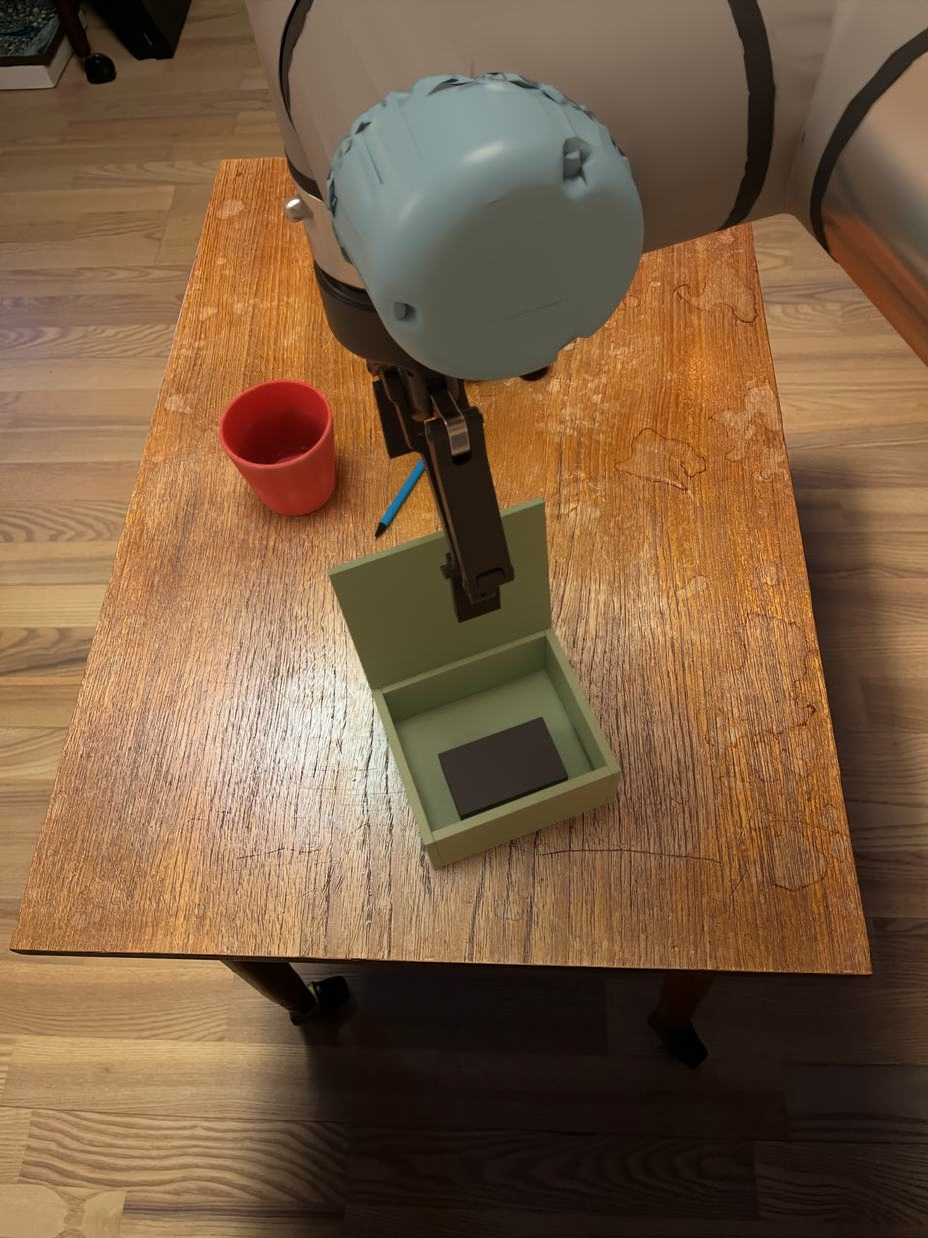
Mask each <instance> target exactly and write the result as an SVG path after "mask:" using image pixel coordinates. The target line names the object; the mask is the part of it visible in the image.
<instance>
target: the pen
mask: <svg viewBox="0 0 928 1238" xmlns="http://www.w3.org/2000/svg"><path fill="white" fill-rule="evenodd" d="M424 471H425V468H424V465H423V462H422V458H421V457H420V459H419V460H418V462H417V463H416V465H415V467H414V468H413V470H412V471H411V473H410V474H409V476H408V477H407V479H406V480H405V482H404V483H403V485H402V487H401V488H400V490H399V491H398V493H397V494H396V496H395V497H394V498H393V501H392V502H391V504H390V505H389V507H388V509H386V511H385V513H384V514H383V516H382V517H381V519H380V520H379V522H378V526H377V527H376V531H375V533H374V536H373V539H374V540H376V539H377V538H378V537H379V536H380V535H381V534H382V533H383V532H384V531H386V530H387V528H388V527H389V525H390V524H391V522H392V520H393V519H394V518H395V516H396V514H397V513H398V511H399V510H400V508H401V507H402V505H403V503H404V502H405V500H406V499H407V497H408V496H409V494H410V492H412V490H413V488H414V487H415V485H416V483H417V481H418V480H419V478H420V477H421V475H422V474H423V472H424Z"/></svg>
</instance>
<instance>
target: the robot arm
mask: <svg viewBox="0 0 928 1238" xmlns="http://www.w3.org/2000/svg"><path fill="white" fill-rule="evenodd" d="M244 3H245V6H246V10H247V14H248V18H249V22H250V25H251V29H252V33H253V37H254V40H255V45H256V48H257V53H258V56H259V60H260V64H261V67H262V71H263V74H264V78H265V81H266V85H267V88H268V92H269V95H270V100H271V103H272V106H273V109H274V114H275V117H276V121H277V124H278V128H279V131H280V135H281V139H282V142H283V148H284V154H285V159H286V162H287V167H288V170H289V174H290V175H291V180H292V184H293V186H294V188H295V190H296V192H297V193H295V194H292V195H289V196H287V197H284V199H283V201H282V204H281V205H282V209H283V212H284V216H285V219H287V221H289V222H291V223H299V222H302V224H303V228H304V232H305V235H306V240H307V243H308V247H309V250H310V252H311V253H310V254H311V256H312V258H313V271H314V275H315V279H316V283H317V288H318V292H319V295H320V298H321V303H322V307H323V311H324V314H325V318H326V322H327V325H328V328H329V329H330V331H331V334H332V335H333V337H334V338H335V339H336V340H337V343H339V344H340V345H341V346H342V347H344V348H345V349H346V350H348V351H349V352H350V353H351V354H353V355H354V356H357V357H358V358H361V359H363V360H365V362H366V363H365V367H366V370H367V373H369V374H370V375H371V377H372V378H374V377H377V379H378V380H374V381H372V382H371V386H372V390H373V395H374V398H375V402H376V403H375V404H376V408H377V413H378V417H379V421H380V426H381V430H382V435H383V440H384V445H385V448H386V449H385V450H386V453H387V455H388V458H389V459H390V460H393V459H396V458H399V457H402V456H404V455H405V456H406V455H408V454H411V453H414V452H415V453H417V454H420V459H421V458H422V462H423V465H424V468H425V469H424V471H425V475H426V478H427V481H428V484H429V488H430V491H431V494H432V498H433V501H434V504H435V508H436V511H437V514H438V517H439V521H440V525H441V528H442V530H443V531H444V534H445V538H446V541H447V544H448V548H449V551H450V552H449V553H446V554H445V555H446V561H447V564H446V565H443V566H440V569H441V572H442V575H443V577H444V579H445V580H447V579H449V580H450V586H451V593H452V599H453V606H454V612H455V615H456V618H457V620H458V622H459V623H461V622H464V621H467V620H470V619H473V618H476V617H478V616H481V615H484V614H487V613H490V612H493V611H495V610H498V609H501V601H500V585H503V584H506V583H509V582H511V581H514V578H515V577H514V573H515V572H514V568H513V566H512V564H511V560H510V556H509V551H508V547H507V542H506V538H505V533H504V529H503V524H502V520H501V515H500V511H501V510H500V507H499V503H498V498H497V494H496V488H495V485H494V479H493V476H492V472H491V466H490V462H489V458H488V453H487V444H486V443H487V442H486V435H485V428H484V427H485V426H484V423H485V418H484V414H483V413H482V412H480V408H479V407H478V406H477V405H474V406H471V405H470V402H469V398H468V395H467V391H466V388H465V387H466V386H465V383H466V380H468V381H490V382H491V381H500V380H501V381H502V380H506V379H508V380H509V379H512V378H516V377H517V378H518V377H520V376H521V375H524V374H528V373H531V372H534V371H536V370H539V369H541V368H544V367H546V366H549V367H550V366H551V365H552V364H553V363H556V362H557V360H558V358H559V357H558V356H559V353H560V352H561V351H562V350H563V349H565V348H566V347H567V346H568V345H570V344H572V342H574V341H576V340H577V339H589V338H592V336H593V335H594V334H596V333H597V332H598V331H599V330H601V328H602V327H604V325H605V324H606V323H607V322H608V321H609V320H610V319H611V317H612V316H613V315H614V314H615V312H616V310H617V309H619V307H620V305H621V303H622V302H623V300H624V298H625V297H626V295H627V294H628V292H629V291H630V289H631V286H632V284H633V282H634V279H635V276H636V274H637V271H638V269H639V266H640V263H641V258H642V255H645V254H648V253H651V252H655V251H658V250H662V249H666V248H669V247H672V246H676V245H678V244H682V243H686V242H690V241H693V240H696V239H700V238H702V237H706V236H708V235H711V234H714V233H717V232H722V231H724V230H728V229H731V228H733V227H736V226H741V225H744V224H748V223H752V222H756V221H759V220H762V219H768V218H771V217H774V216H778V215H782V214H785V215H790V216H793V217H794V218H795V219H796V220H797V221H798V222H799V223H800V224H801V225H802V226H803V228H804V229H805V230H806V231H807V233H809V234H810V235H811V237H813V238H814V240H815V241H816V242H817V243H818V244H819V245H820V246H821V248H822V249H823V250H824V251H825V252H826V254H827V255H828V256H829V257H830V258H831V259H832V260H833V262H834V263H836V264H838V265H839V266H840V268H841V269H842V270H843V271H844V272H845V273H846V274H847V276H848V277H849V278H850V279H851V281H853V283H854V284H855V285H856V286H857V287H858V288H859V289H860V291H861V292H862V293H863V294H864V296H866V298H867V299H868V301H870V302H871V304H872V305H873V306H874V307H875V308H876V309H877V311H878V312H879V313H880V315H882V316H883V317H884V319H885V320H886V321H887V322H888V323H889V324H890V326H891V327H892V328H893V329H894V330H895V331H896V333H897V334H898V335H899V337H900V338H902V340H903V341H904V342H905V343H906V344H907V345H908V346H909V348H910V349H911V350H912V352H914V354H915V355H916V357H918V359H919V360H920V361H921V362H922V363H923V364H924V365H925V367H927V368H928V0H244Z"/></svg>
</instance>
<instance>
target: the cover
mask: <svg viewBox="0 0 928 1238" xmlns="http://www.w3.org/2000/svg"><path fill="white" fill-rule="evenodd" d="M499 511H500V515H501V520H502V524H503V529H504V533H505V538H506V542H507V547H508V551H509V556H510V560H511V564H512V566H513V568H514V572H515V573H514V577H515V578H514V581H511V582H509V583H506V584H503V585H500V601H501V609H498V610H495V611H493V612H490V613H487V614H484V615H481V616H478V617H476V618H473V619H470V620H467V621H464V622H461V623H459V622H458V620H457V618H456V615H455V612H454V606H453V599H452V593H451V586H450V580H449V579H447V580H445V579H444V577H443V575H442V572H441V569H440V566H443V565H446V564H447V561H446V555H445V554H446V553H449V552H450V551H449V548H448V544H447V541H446V538H445V534H444V531H443V529H442V530H439V531H436V532H432V533H430V534H428V535H424V536H421V537H418V538H415V539H412V540H409V541H407V542H404V543H400V544H397V545H395V546H392V547H388V548H386V549H382V550H380V551H377V552H374V553H371V554H368V555H364V556H363V557H360V558H356V559H353V560H351V561H347V562H345V563H342V564H338V565H336V566H333V567H330V568H327V569H326V572H327V576H328V578H329V581H330V585H331V586H332V589H333V592H334V595H335V597H336V600H337V603H338V605H339V608H340V611H341V613H342V617H343V618H344V619H343V620H344V621H345V624H346V627H347V630H348V632H349V635H350V637H351V641H352V643H353V646H354V649H355V651H356V654H357V657H358V659H359V662H360V666H361V668H362V670H363V673H364V676H365V679H366V681H367V684H368V687H369V690H371V689H373V688H376V687H379V686H382V685H385V684H387V683H390V682H393V681H396V680H399V679H401V678H404V677H407V676H410V675H413V674H415V673H418V672H421V671H424V670H427V669H429V668H432V667H435V666H438V665H441V664H443V663H446V662H449V661H452V660H455V659H457V658H460V657H463V656H466V655H469V654H471V653H474V652H477V651H480V650H483V649H486V648H488V647H491V646H494V645H497V644H500V643H502V642H505V641H508V640H511V639H514V638H516V637H519V636H522V635H525V634H528V633H530V632H533V631H536V630H539V629H542V628H544V627H547V626H550V625H551V626H552V625H553V618H552V617H553V616H552V599H551V598H552V597H551V584H550V570H549V569H550V568H549V550H548V538H547V537H548V535H547V533H548V532H547V519H546V518H547V517H546V502H545V500H544V498H543V497H542V496H539V497H536V498H533V499H530V500H527V501H524V502H522V503H519V504H515V505H513V506H509V507H507V508H504V509H501V510H499Z"/></svg>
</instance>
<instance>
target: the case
mask: <svg viewBox="0 0 928 1238" xmlns="http://www.w3.org/2000/svg"><path fill="white" fill-rule="evenodd" d="M370 692H371V695H372V698H373V701H374V703H375V707H376V710H377V713H378V716H379V718H380V721H381V725H382V727H383V729H384V730H383V731H384V733H385V736H386V738H387V742H388V744H389V747H390V750H391V752H392V753H391V754H392V756H393V758H394V761H395V764H396V767H397V770H398V772H399V775H400V779H401V781H402V784H403V787H404V790H405V793H406V796H407V799H408V802H409V805H410V808H411V810H412V814H413V816H414V819H415V823H416V825H417V827H418V828H417V829H418V831H419V835H420V837H421V840H422V843H423V845H424V848H425V851H426V854H427V856H428V858H429V861H430V863H431V866H432V869H433V870H434V871H436V870H438V869H441V868H443V867H446V866H448V865H451V864H453V863H456V862H460V861H461V860H464V859H467V858H469V857H472V856H474V855H477V854H480V853H482V852H485V851H487V850H490V849H493V848H495V847H498V846H500V845H503V844H505V843H506V844H507V843H508V842H511V841H513V840H516V839H519V838H521V837H524V836H528V835H529V834H532V833H534V832H537V831H541V830H542V829H545V828H547V827H550V826H552V825H555V824H557V823H560V822H563V821H565V820H568V819H572V818H574V817H577V816H579V815H582V814H585V813H586V812H589V811H592V810H594V809H597V808H600V807H602V806H605V805H607V804H610V803H612V802H613V803H614V802H615V801H616V798H617V792H618V789H619V784H620V778H621V775H622V769H621V767H620V765H619V763H618V760H617V758H616V756H615V754H614V752H613V750H612V748H611V747H610V744H609V742H608V740H607V738H606V736H605V734H604V732H603V730H602V727H601V725H600V724H599V722H598V719H597V717H596V715H595V712H594V710H593V709H592V706H591V704H590V702H589V701H588V698H587V696H586V695H585V693H584V690H583V688H582V687H581V684H580V682H579V680H578V678H577V675H576V674H575V671H574V669H573V667H572V665H571V663H570V662H569V659H568V657H567V655H566V654H565V652H564V649H563V647H562V645H561V643H560V640H559V639H558V636H557V634H556V632H555V630H554V628H553V627H552V625H550V626H547V627H544V628H542V629H539V630H536V631H533V632H530V633H528V634H525V635H522V636H519V637H516V638H514V639H511V640H508V641H505V642H502V643H500V644H497V645H494V646H491V647H488V648H486V649H483V650H480V651H477V652H474V653H471V654H469V655H466V656H463V657H460V658H457V659H455V660H452V661H449V662H446V663H443V664H441V665H438V666H435V667H432V668H429V669H427V670H424V671H421V672H418V673H415V674H413V675H410V676H407V677H404V678H401V679H399V680H396V681H393V682H390V683H387V684H385V685H382V686H379V687H376V688H373V689H370ZM539 717H543V719H544V722H545V724H546V726H547V728H548V731H549V733H550V735H551V738H552V740H553V742H554V744H555V747H556V749H557V751H558V753H559V756H560V758H561V760H562V763H563V765H564V767H565V769H566V772H567V774H568V781H565V782H563V783H560V784H557V785H555V786H552V787H549V788H547V789H544V790H542V791H539V792H536V793H534V794H531V795H528V796H526V797H523V798H520V799H518V800H515V801H512V802H510V803H507V804H505V805H502V806H499V807H497V808H494V809H491V810H489V811H486V812H483V813H481V814H478V815H475V816H473V817H470V818H468V819H465V820H462V821H460V818H459V815H458V812H457V810H456V807H455V804H454V801H453V799H452V796H451V793H450V790H449V787H448V785H447V782H446V779H445V776H444V774H443V771H442V768H441V765H440V761H439V757H438V754H439V753H442V752H445V751H448V750H450V749H453V748H456V747H459V746H461V745H464V744H467V743H470V742H473V741H475V740H478V739H481V738H484V737H486V736H489V735H492V734H495V733H498V732H500V731H503V730H506V729H509V728H511V727H514V726H517V725H520V724H523V723H525V722H528V721H531V720H534V719H536V718H539Z"/></svg>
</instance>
